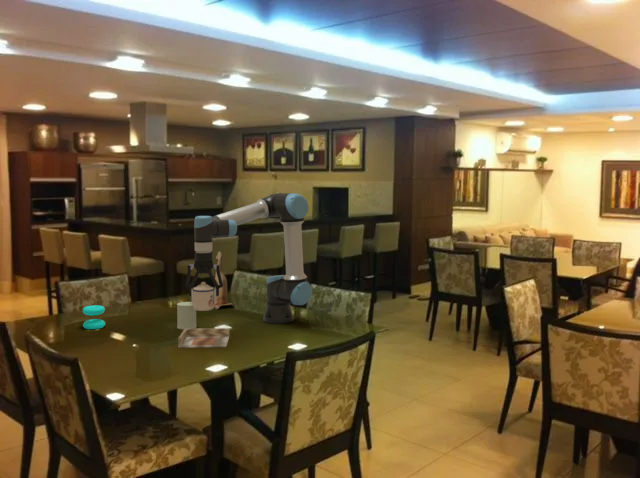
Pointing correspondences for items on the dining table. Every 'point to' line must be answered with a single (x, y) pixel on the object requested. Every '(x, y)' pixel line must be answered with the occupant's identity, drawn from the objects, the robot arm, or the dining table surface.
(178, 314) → the can
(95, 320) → the donuts
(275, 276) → the robot arm
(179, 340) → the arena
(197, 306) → the teacup with lid
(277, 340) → the dining table surface
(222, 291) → the bird sculpture
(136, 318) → the dining table surface
